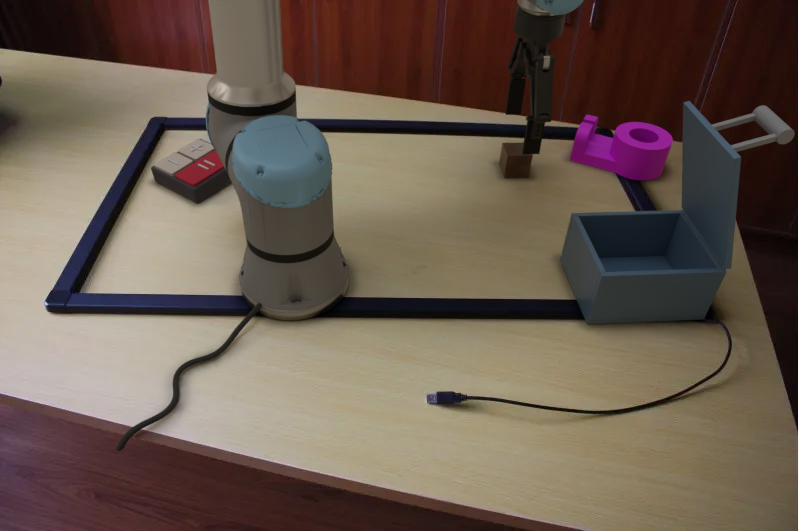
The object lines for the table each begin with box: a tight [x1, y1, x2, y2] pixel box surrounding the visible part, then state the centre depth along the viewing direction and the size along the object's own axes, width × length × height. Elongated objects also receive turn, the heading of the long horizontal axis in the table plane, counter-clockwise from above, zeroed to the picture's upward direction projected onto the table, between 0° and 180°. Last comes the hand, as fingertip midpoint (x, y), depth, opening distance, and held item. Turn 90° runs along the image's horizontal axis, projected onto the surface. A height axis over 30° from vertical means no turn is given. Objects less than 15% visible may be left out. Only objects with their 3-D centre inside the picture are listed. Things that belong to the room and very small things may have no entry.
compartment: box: [559, 209, 727, 325], centre depth 90 cm, size 17×14×9 cm
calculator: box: [150, 133, 232, 204], centre depth 111 cm, size 11×4×15 cm
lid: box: [681, 100, 795, 270], centre depth 81 cm, size 17×14×9 cm
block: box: [498, 141, 534, 179], centre depth 115 cm, size 4×4×4 cm
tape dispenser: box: [569, 114, 674, 181], centre depth 117 cm, size 16×10×6 cm, turn 63°
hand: (521, 132), depth 111 cm, fingers open, 13 cm apart
